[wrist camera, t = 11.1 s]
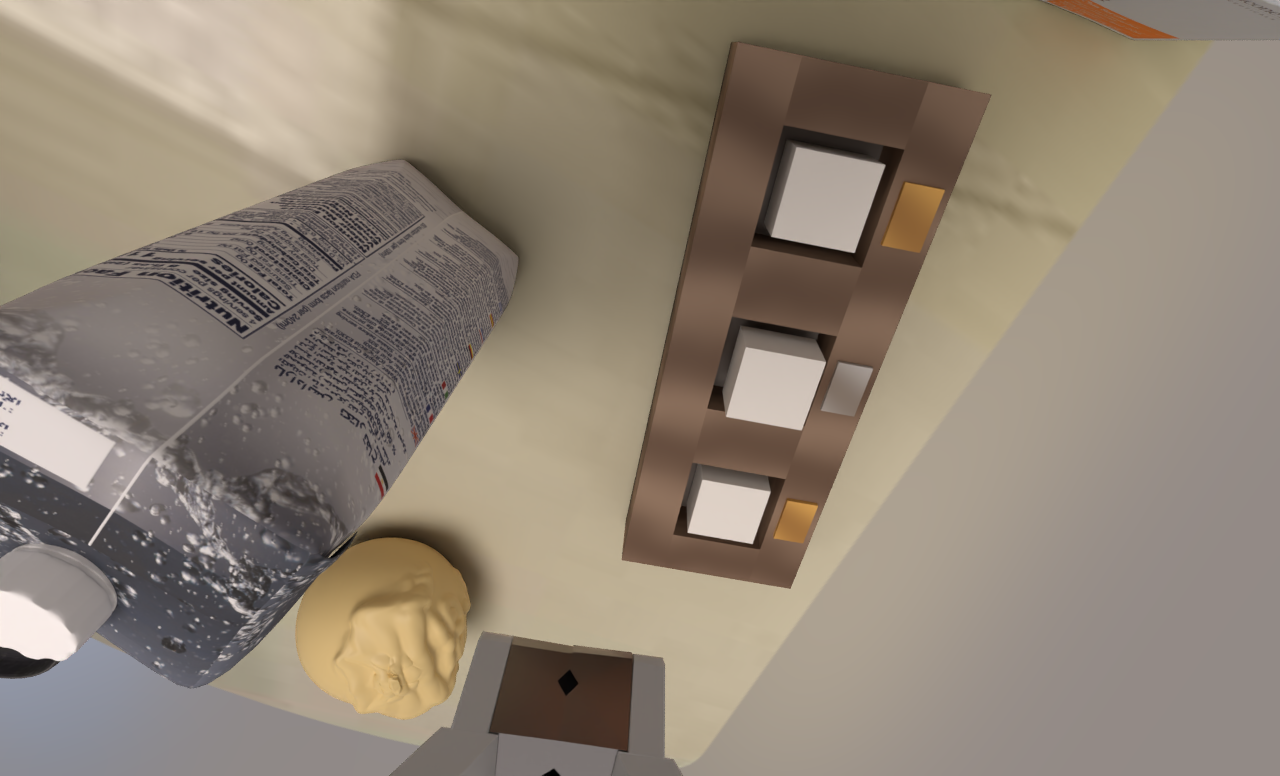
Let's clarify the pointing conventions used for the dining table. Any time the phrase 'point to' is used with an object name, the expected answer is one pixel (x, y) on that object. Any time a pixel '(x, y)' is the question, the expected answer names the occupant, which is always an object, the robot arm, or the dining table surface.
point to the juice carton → (228, 413)
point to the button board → (789, 296)
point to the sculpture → (385, 627)
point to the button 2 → (822, 195)
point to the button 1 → (726, 503)
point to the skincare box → (1182, 18)
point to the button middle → (772, 378)
